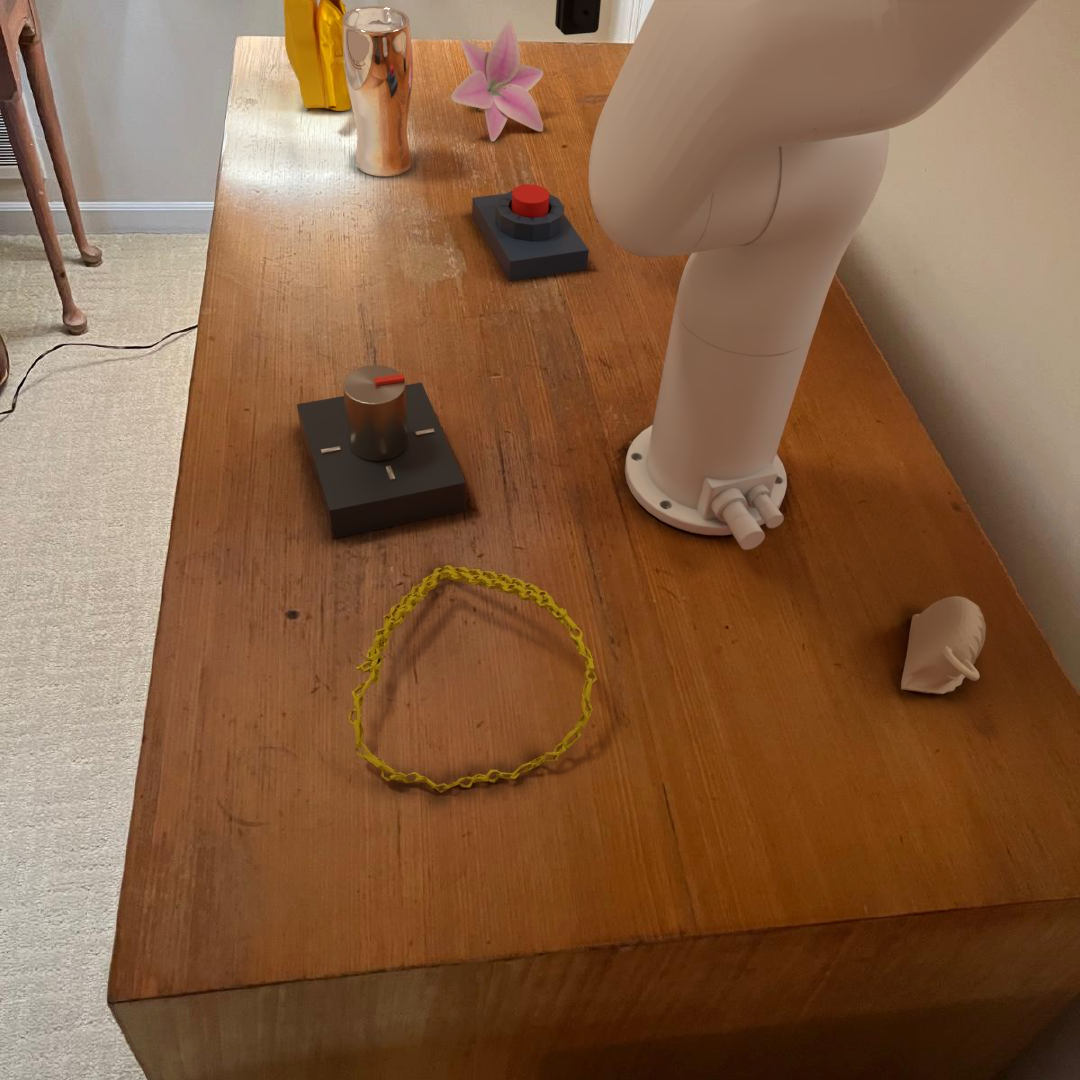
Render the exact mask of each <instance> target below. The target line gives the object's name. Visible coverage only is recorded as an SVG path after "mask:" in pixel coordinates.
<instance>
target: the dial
mask: <svg viewBox="0 0 1080 1080" xmlns="http://www.w3.org/2000/svg"><path fill="white" fill-rule="evenodd" d="M406 385H407V384H406V378H405V376H404V373H401V372H399V371H398V370H396V369H395V368H392V367H389V366H387V365H381V364H370V365H364V366H360V367H358V368H356V369H353V370H352V371H351V372H349V373H348V374H346V376H345V377H344V380H343V383H342V390H343V396H344V401H345V411H346V420H347V430H348V440H349V446H350V448H351V450H352V451H353V452H354V453H355V454H356V455H357V456H359V457H361V458H363V459H366V460H370V461H385V460H389V459H392V458H394V457H396V456H398V455H400V454H401V453H402V452H403V451H404V450H405V448H406V447H407V444H408V429H407V407H406Z"/></svg>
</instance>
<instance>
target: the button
mask: <svg viewBox="0 0 1080 1080" xmlns="http://www.w3.org/2000/svg"><path fill="white" fill-rule="evenodd" d="M546 189H547V188H545V187H544V186H541V185H538V184H533V183H532V184H530V183H524V184H520V185H518V186H516V187H514V188H513V190H512V191H513V192H512V212H513V213H515V214H517V215H519V216H521V217H528V218H536V217H543V216H545V215H547V213H548V209H549V193H550V191H549V190H548V189H547V190H546Z"/></svg>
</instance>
